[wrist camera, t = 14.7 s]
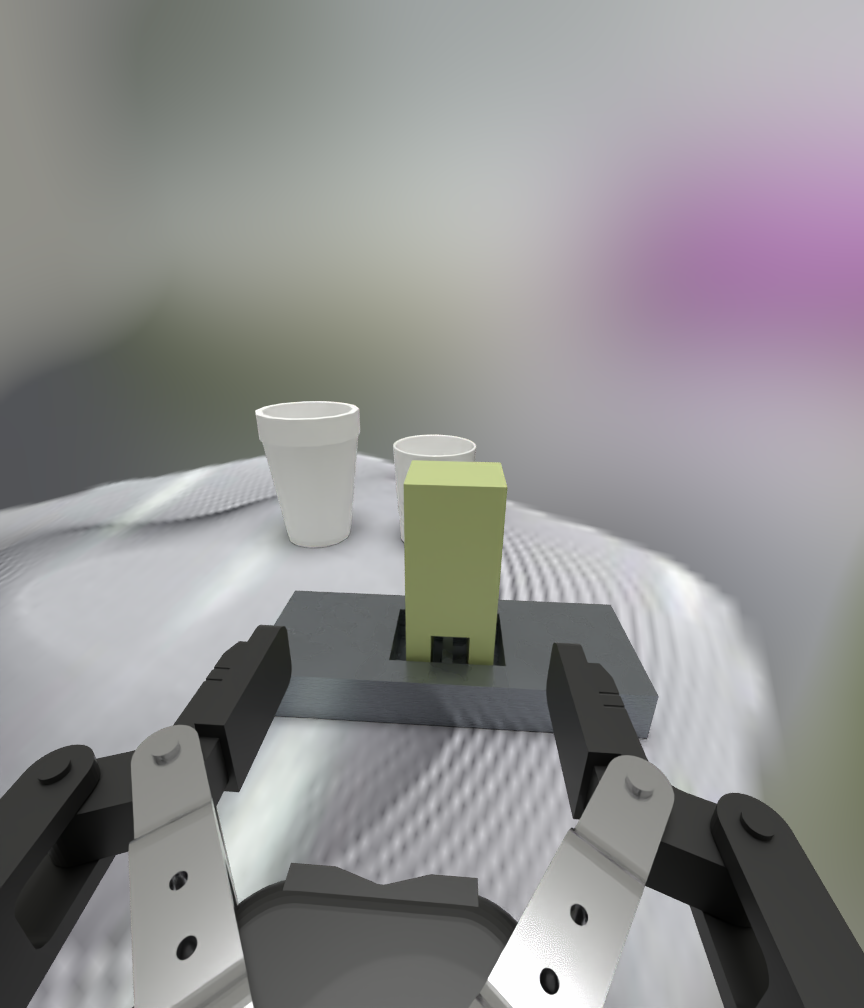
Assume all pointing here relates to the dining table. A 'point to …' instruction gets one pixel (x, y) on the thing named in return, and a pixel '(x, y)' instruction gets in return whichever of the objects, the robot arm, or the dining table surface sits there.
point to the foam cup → (312, 467)
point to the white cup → (427, 458)
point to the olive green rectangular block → (453, 555)
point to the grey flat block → (446, 664)
